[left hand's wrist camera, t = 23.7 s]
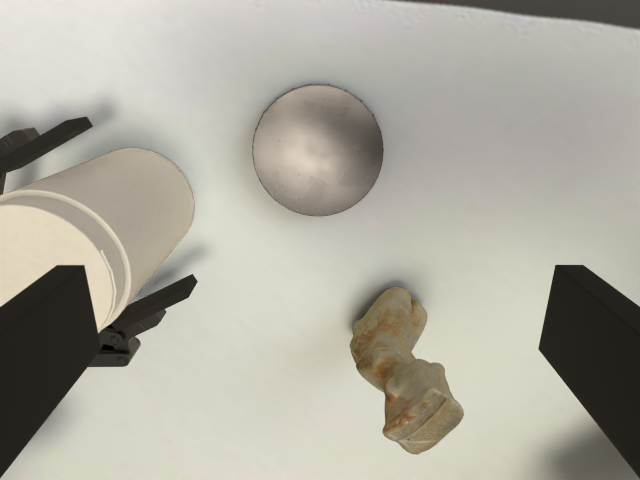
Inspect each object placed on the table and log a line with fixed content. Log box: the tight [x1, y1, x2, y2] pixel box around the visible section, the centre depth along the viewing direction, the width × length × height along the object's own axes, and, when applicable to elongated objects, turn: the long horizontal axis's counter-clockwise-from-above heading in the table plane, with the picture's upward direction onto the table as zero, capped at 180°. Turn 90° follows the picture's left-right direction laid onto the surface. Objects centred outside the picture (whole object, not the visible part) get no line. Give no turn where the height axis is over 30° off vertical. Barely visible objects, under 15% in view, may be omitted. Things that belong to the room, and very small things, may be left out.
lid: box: [252, 84, 384, 216], centre depth 36 cm, size 10×10×2 cm
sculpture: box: [350, 287, 464, 454], centre depth 35 cm, size 6×7×15 cm
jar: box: [0, 148, 194, 333], centre depth 31 cm, size 9×9×16 cm
